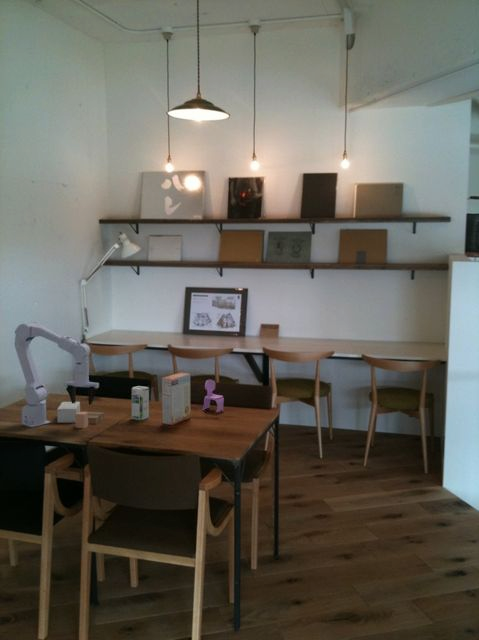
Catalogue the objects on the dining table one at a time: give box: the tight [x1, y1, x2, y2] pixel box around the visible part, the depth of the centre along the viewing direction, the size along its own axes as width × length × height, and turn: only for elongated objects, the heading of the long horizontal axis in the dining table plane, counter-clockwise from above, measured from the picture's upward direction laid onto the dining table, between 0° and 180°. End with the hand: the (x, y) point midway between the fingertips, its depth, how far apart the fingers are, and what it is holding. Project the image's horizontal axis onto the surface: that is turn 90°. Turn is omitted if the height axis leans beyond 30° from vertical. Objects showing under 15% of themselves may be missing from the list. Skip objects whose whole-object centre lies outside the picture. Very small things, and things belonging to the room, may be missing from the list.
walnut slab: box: [87, 411, 105, 425], centre depth 252 cm, size 9×9×3 cm
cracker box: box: [161, 372, 191, 426], centre depth 253 cm, size 14×6×21 cm, turn 149°
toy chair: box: [201, 379, 225, 413], centre depth 271 cm, size 8×9×15 cm
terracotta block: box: [75, 410, 89, 429], centre depth 242 cm, size 4×4×6 cm
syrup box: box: [131, 385, 150, 421], centre depth 256 cm, size 6×6×14 cm
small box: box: [56, 401, 81, 424], centre depth 254 cm, size 8×6×13 cm
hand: (82, 403), depth 242 cm, fingers open, 7 cm apart
